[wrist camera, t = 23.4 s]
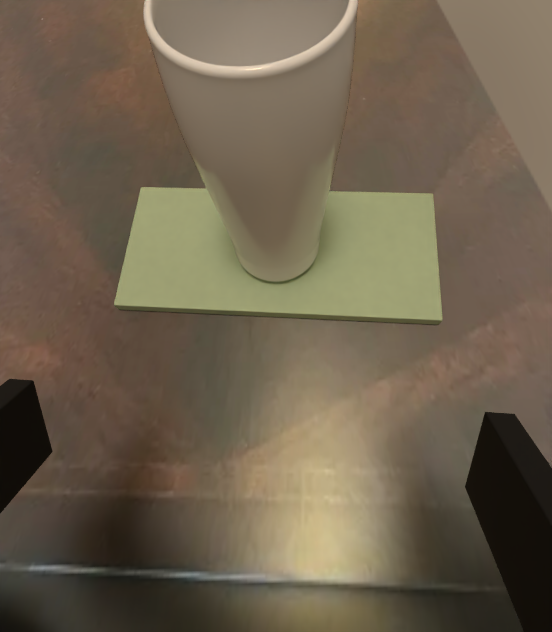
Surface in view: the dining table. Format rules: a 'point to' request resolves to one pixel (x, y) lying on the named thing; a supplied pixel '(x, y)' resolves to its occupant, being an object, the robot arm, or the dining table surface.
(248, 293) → the mat
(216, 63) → the drinking glass
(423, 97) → the dining table surface
